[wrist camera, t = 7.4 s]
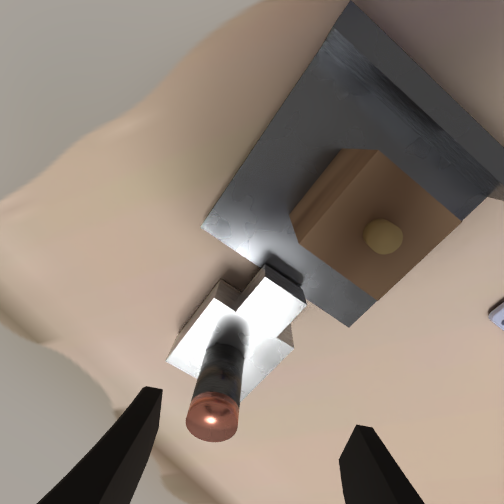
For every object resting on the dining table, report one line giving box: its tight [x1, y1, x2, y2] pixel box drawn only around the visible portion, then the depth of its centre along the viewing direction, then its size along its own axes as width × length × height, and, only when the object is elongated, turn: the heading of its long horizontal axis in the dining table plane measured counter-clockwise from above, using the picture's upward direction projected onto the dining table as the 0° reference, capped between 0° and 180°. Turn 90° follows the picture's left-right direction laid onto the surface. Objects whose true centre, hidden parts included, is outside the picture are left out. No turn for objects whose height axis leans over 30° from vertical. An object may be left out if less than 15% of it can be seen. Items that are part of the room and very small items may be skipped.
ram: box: [166, 264, 307, 442], centre depth 16 cm, size 6×9×7 cm, turn 144°
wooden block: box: [289, 148, 462, 301], centre depth 13 cm, size 4×4×6 cm
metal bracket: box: [201, 0, 504, 327], centre depth 15 cm, size 12×12×3 cm
